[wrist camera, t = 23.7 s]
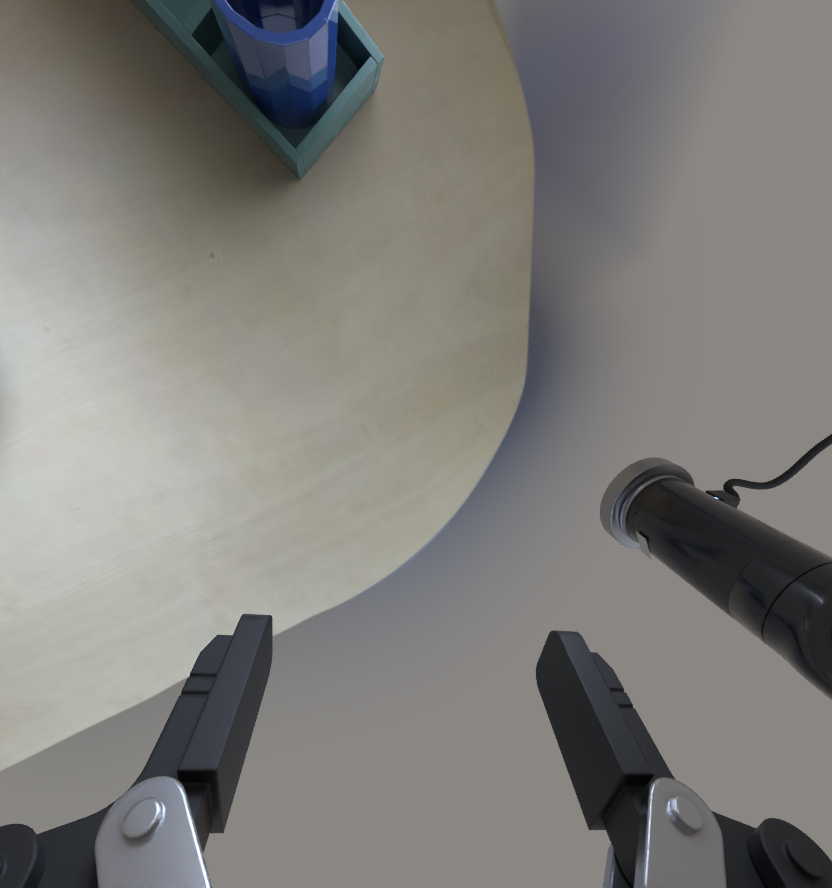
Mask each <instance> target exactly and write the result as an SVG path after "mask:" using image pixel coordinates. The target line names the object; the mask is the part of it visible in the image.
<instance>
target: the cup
mask: <svg viewBox="0 0 832 888" xmlns="http://www.w3.org/2000/svg"><path fill="white" fill-rule="evenodd" d="M209 2H210V4H211V7H212V9H213V12H214V14H215V17H216V19H217V22H218V25H219V27H220V30H221V32H222V35H223V37H224V40H225V42H226V45H227V48H228V50H229V53H230V55H231V58H232V60H233V63H234V66H235V68H236V71H237V73H238V76H239V78H240V81H241V83H242V86H243V89H244V91H245V93H246V94H247V96H248V98H249V99H250V101H251V102H252V103H253V104H254V105H255V106H256V107H257V108H258V109H259V110H260V112H261V113H262V114H263V115H264V116H265V117H266V118H267V119H268V120H269V121H271V122H273V123H274V124H276V125H279V126H281V127H284V128H288V129H303V128H307V127H309V126H312V125H313V124H315V123H317V122H318V120H319V119H320V118H321V117H322V116H323V114H324V113H325V112H326V111H327V109H328V108H329V106H330V104H331V101H332V98H333V93H334V88H335V67H336V46H337V25H338V4H339V0H209Z"/></svg>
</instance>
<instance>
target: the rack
mask: <svg viewBox="0 0 832 888" xmlns="http://www.w3.org/2000/svg"><path fill="white" fill-rule="evenodd" d="M131 1H132V3H133V4H134V5H135V6H136V7H137V8H138V9H139V10H140V11H141V12H142V13H143V14H144V15H145V16H146V17H147V18H148V20H149V21H150V22H151V23H152V24H153V25H154V26H155V27H156V28H157V29H158V30H159V31H160V32H161V33H162V34H163V35H164V37H165V38H166V39H167V40H168V41H169V42H170V43H171V44H172V45H173V46H174V47H175V48H176V49H177V50H178V51H179V52H180V54H181V55H182V56H183V57H184V58H185V59H186V60H187V61H188V62H189V63H190V64H191V65H192V66H193V67H194V68H195V69H196V71H197V72H198V73H199V74H200V75H201V76H202V77H203V78H204V79H205V80H206V81H207V82H208V83H209V84H210V85H211V87H212V88H213V89H214V90H215V91H216V92H217V93H218V94H219V95H220V96H221V97H222V98H223V99H224V100H225V101H226V102H227V104H228V105H229V106H230V107H231V108H232V109H233V110H234V111H235V112H236V113H237V114H238V115H239V116H240V117H241V118H242V119H243V121H244V122H245V123H246V124H247V125H248V126H249V127H250V128H251V129H252V130H253V131H254V132H255V133H256V134H257V135H258V136H259V138H260V139H261V140H262V141H263V142H264V143H265V144H266V145H267V146H268V147H269V148H270V149H271V150H272V151H273V152H274V153H275V155H276V156H277V157H278V158H279V159H280V160H281V161H282V162H283V163H284V164H285V165H286V166H287V167H288V168H289V169H290V171H291V172H292V173H293V174H294V175H295V176H296V177H297V178H298V179H299V180H301V179H302V177H303V176H304V175H305V174H306V172H307V171H308V170H309V169H310V168H311V166H312V165H313V164H314V163H315V161H316V160H317V159H318V158H319V157H320V155H321V154H322V153H323V152H324V150H325V149H326V148H327V147H328V146H329V144H330V143H331V142H332V141H333V139H334V138H335V137H336V136H337V135H338V133H339V132H340V131H341V130H342V128H343V127H344V126H345V125H346V124H347V122H348V121H349V120H350V119H351V117H352V116H353V115H354V114H355V113H356V111H357V110H358V109H359V108H360V106H361V105H362V104H363V103H364V102H365V100H366V99H367V98H368V97H369V95H370V94H371V93H372V92H373V91H374V89H375V88H376V87H377V83H378V79H379V75H380V71H381V67H382V63H383V59H384V56H383V55H382V53H381V52H380V51H379V49H378V48H377V47H376V45H375V44H374V43H373V41H372V40H371V38H370V37H369V36H368V34H367V33H366V32H365V30H364V29H363V28H362V26H361V25H360V24H359V22H358V21H357V19H356V18H355V17H354V15H353V14H352V13H351V11H350V10H349V9H348V7H347V6H346V5H345V3H344V2H343V1H342V0H339V4H338V25H337V46H336V67H335V88H334V93H333V98H332V101H331V104H330V106H329V108H328V109H327V111H326V112H325V113H324V114H323V116H322V117H321V118H320V119H319V120H318V122H317V123H315V124H313V125H312V126H309V127H307V128H303V129H288V128H284V127H281V126H279V125H276V124H274V123H273V122H271V121H269V120H268V119H267V118H266V117H265V116H264V115H263V114H262V113H261V112H260V110H259V109H258V108H257V107H256V106H255V105H254V104H253V103H252V102H251V101H250V99H249V98H248V96H247V94H246V93H245V91H244V89H243V86H242V83H241V81H240V78H239V76H238V73H237V71H236V68H235V66H234V63H233V60H232V58H231V55H230V53H229V50H228V48H227V45H226V42H225V40H224V37H223V35H222V32H221V30H220V27H219V25H218V22H217V19H216V17H215V14H214V12H213V9H212V7H211V4H210V2H209V0H131Z"/></svg>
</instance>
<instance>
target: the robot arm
mask: <svg viewBox="0 0 832 888" xmlns="http://www.w3.org/2000/svg"><path fill="white" fill-rule="evenodd" d="M831 444H832V434H831V435H830V436H828V437H827V438H825V439H824V440H822V441H821V442H819V443H818V444H817V445H815V446H814V447H813V448H812V449H810V450H809V451H808V452H807V453H806V454H805V455H804V456H803V457H801V458H800V459H799V460H798V461H797V462H796V463H795V464H794V465H793V466H792V467H791V468H789V470H787V471H786V472H785V473H783V474H782V475H780V476H779V477H777V478H775V479H773V480H771V481H768V482H764V483H757V482H750V481H746V480H741V479H730V480H728V481H726V482H725V484H724V486H723V489H724V491H722V490H721V491H706V493H705V492H704V491H701V490H700V489H698V488H696V487H694V486H692V485H690V484H688V483H686V482H685V481H684V480H682V479H680V478H678V477H676V476H674V475H671V474H660V475H656V476H653V477H650V478H648V479H646V480H645V481H643V482H642V483H640V484H639V485H638V486H637V487H636V488H635V489H634V490H633V491H632V492H631V493H630V494H629V496H628V497H627V499H626V501H625V502H624V505H623V507H622V510H621V515H620V523H621V527H622V530H623V531H624V533H625V534H626V535H627V536H628V537H629V538H631V539H632V540H633V541H635V542H637V543H638V544H640V547H641V551H642V552H643V553H644V554H645V555H647V556H648V557H649V558H650V559H651V556H650V553H651V554H652V555H653V556H655V557H656V558H657V559H658V560H660V561H661V562H662V563H663V564H665V565H666V566H667V567H669V568H670V569H671V570H672V571H674V572H675V573H676V574H677V575H679V576H680V577H681V578H682V579H684V580H685V581H686V582H688V583H689V584H690V585H691V586H693V587H694V588H695V589H696V590H698V591H699V592H700V593H701V594H703V595H704V596H706V597H707V598H708V599H709V600H710V601H712V602H713V603H714V604H715V605H717V606H718V607H719V608H720V609H722V610H723V611H724V612H726V613H727V614H728V615H729V616H731V617H732V618H733V619H735V620H736V621H737V622H738V623H740V624H741V625H742V626H744V627H745V628H746V629H747V630H749V631H750V632H751V633H752V634H754V635H755V636H756V637H758V638H759V639H760V640H761V641H763V642H764V643H765V644H767V645H768V646H769V647H770V648H771V649H773V650H774V651H775V652H777V653H778V654H779V655H780V656H782V657H783V658H784V659H785V660H786V661H787V662H788V663H789V664H790V665H791V666H792V667H793V668H794V669H796V671H798V672H799V673H800V674H801V675H802V676H803V677H804V678H805V679H807V680H808V681H809V682H810V683H811V684H812V685H814V686H815V687H816V688H817V689H819V690H820V691H821V692H823V693H824V694H825V695H826V696H827V697H829V698H830V699H831V700H832V557H830V556H828V555H826V554H824V553H822V552H820V551H818V550H816V549H814V548H812V547H810V546H808V545H806V544H804V543H802V542H800V541H798V540H796V539H794V538H792V537H791V536H789V535H787V534H785V533H783V532H781V531H779V530H777V529H775V528H773V527H771V526H769V525H767V524H765V523H763V522H761V521H760V520H757V519H755V518H754V517H752V516H750V515H748V514H746V513H744V512H742V511H740V510H738V509H736V508H737V506H738V504H739V501H740V498H739V495H738V493H737V492H736V491H735V490H734V489H733V488H732V487H733V486H741V487H746V488H751V489H770V488H774V487H776V486H778V485H781V484H782V483H784V482H786V481H787V480H789V479H790V478H791V477H793V476H794V475H795V474H796V473H798V472H799V471H800V470H801V469H802V468H803V467H804V466H805V465H806V464H807V463H808V462H809V461H811V459H813V458H814V457H815V456H816V455H817V454H818V453H820V452H821V451H822V450H824V449H825V448H826V447H828V446H829V445H831ZM271 662H272V616H271V615H255V614H243V615H242V616H241V618H240V620H239V622H238V625H237V627H236V629H235V632H234V634H233V636H231V635H217V636H216V637H215V638H214V639H213V640H212V641H211V642H210V643H209V644H208V645H207V646H206V647H205V648H204V649H203V650H202V651H201V652H200V654H199V656H198V658H197V660H196V663H195V665H194V667H193V669H192V671H191V673H190V677H189V678H188V679H187V681H186V683H185V685H184V687H183V689H182V693H181V696H179V698H178V700H177V702H176V704H175V706H174V708H173V710H172V712H171V714H170V717H169V718H168V720H167V723H166V724H165V727H164V729H163V731H162V733H161V735H160V737H159V739H158V741H157V743H156V745H155V747H154V749H153V751H152V754H151V755H150V758H149V760H148V762H147V764H146V766H145V767H144V769H143V771H142V773H141V774H140V776H139V777H138V778H137V780H136V781H135V782H134V784H133V785H132V786H131V787H130V788H129V789H128V790H127V791H126V792H125V793H124V794H123V795H122V796H121V797H119V798H118V799H117V800H116V801H115V802H113V803H112V804H110V805H109V806H107V807H106V808H104V809H102V810H100V811H99V812H97V813H95V814H92V815H90V816H88V817H85V818H82V819H79V820H76V821H74V822H71V823H68V824H65V825H62V826H59V827H57V828H54V829H51V830H48V831H45V832H42V833H40V834H37V835H36V833H35V832H34V830H33V829H32V828H30V827H28V826H26V825H23V824H10V825H5V826H1V827H0V888H212V885H211V882H210V878H209V874H208V871H207V867H206V864H205V860H204V857H203V852H204V849H205V846H206V843H207V839H208V836H209V833H224V829H225V826H226V822H227V819H228V815H229V812H230V808H231V805H232V801H233V798H234V794H235V791H236V788H237V784H238V781H239V777H240V774H241V770H242V767H243V763H244V760H245V756H246V753H247V750H248V746H249V743H250V739H251V736H252V732H253V728H254V725H255V722H256V719H257V715H258V712H259V708H260V705H261V701H262V698H263V694H264V691H265V687H266V684H267V680H268V677H269V673H270V668H271ZM536 680H537V685H538V689H539V692H540V695H541V697H542V700H543V703H544V706H545V708H546V711H547V714H548V717H549V720H550V722H551V725H552V728H553V731H554V734H555V736H556V739H557V742H558V745H559V748H560V750H561V753H562V756H563V759H564V762H565V764H566V767H567V770H568V773H569V775H570V778H571V781H572V784H573V787H574V789H575V792H576V795H577V798H578V800H579V803H580V806H581V809H582V812H583V815H584V817H585V820H586V823H587V826H588V828H589V830H606V831H607V834H608V836H609V839H610V841H611V844H610V847H609V849H608V855H607V862H606V868H605V875H604V883H603V888H832V861H831V860H830V859H829V858H828V856H827V855H826V854H825V853H824V852H823V850H822V849H821V848H820V847H819V846H818V845H817V844H816V843H815V842H814V841H813V840H812V839H811V838H810V837H808V836H807V835H806V834H805V833H803V832H802V831H801V830H799V829H798V828H796V827H795V826H793V825H791V824H790V823H787V822H786V821H783V820H780V819H775V818H768V819H766V820H764V821H763V822H762V823H761V824H760V825H759V826H758V827H757V828H753V827H751V826H749V825H746V824H743V823H741V822H738V821H735V820H733V819H730V818H728V817H725V816H723V815H720V814H717V813H715V812H713V811H711V810H710V809H709V807H708V806H707V805H706V803H705V802H704V801H703V800H702V799H701V798H700V797H699V796H698V795H697V794H696V793H695V792H694V791H693V790H692V789H690V788H689V787H687V786H686V785H685V784H683V783H681V782H679V781H677V780H676V779H675V778H674V777H673V775H672V774H671V772H670V771H669V768H668V767H667V765H666V763H665V761H664V760H663V758H662V756H661V754H660V753H659V751H658V749H657V747H656V745H655V744H654V742H653V740H652V739H651V736H650V735H649V733H648V731H647V729H646V727H645V726H644V724H643V722H642V721H641V719H640V717H639V715H638V713H637V712H636V710H635V709H633V704H632V703H631V701H630V699H629V697H628V696H627V694H626V693H625V692H624V688H623V686H622V685H621V683H620V681H619V680H618V678H617V676H616V674H615V672H614V670H613V669H612V668H611V667H610V666H609V665H608V664H607V663H606V662H605V661H604V659H603V658H602V657H601V656H600V655H599V654H598V653H592V652H590V650H589V649H588V647H587V645H586V643H585V641H584V639H583V637H582V636H581V635H580V634H579V633H578V632H570V631H551V632H550V633H549V635H548V637H547V640H546V643H545V645H544V648H543V650H542V653H541V655H540V658H539V660H538V663H537V667H536Z"/></svg>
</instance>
